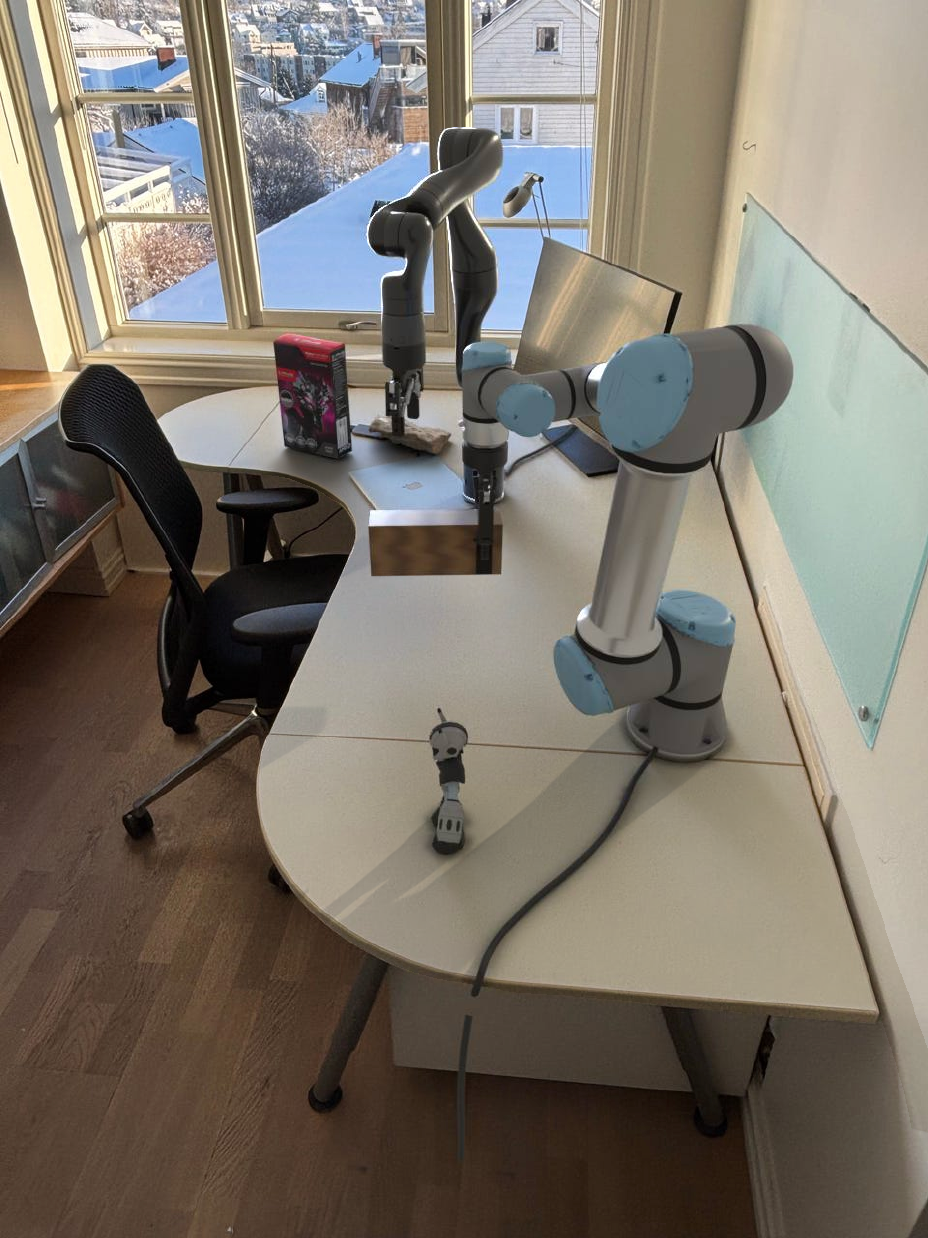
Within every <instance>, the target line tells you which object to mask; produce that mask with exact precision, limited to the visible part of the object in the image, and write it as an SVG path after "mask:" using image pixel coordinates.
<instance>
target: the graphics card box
mask: <svg viewBox="0 0 928 1238" xmlns="http://www.w3.org/2000/svg"><path fill="white" fill-rule="evenodd" d="M272 344H273V345H272V346H273V349H274V350H273V353H274V361H275V362H274V363H275V371H276V380H277V381H276V382H277V390H278V398H279V399H278V400H279V408H280V417H281V418H280V419H281V428H282V435H283V436H282V437H283V446H284V447H285V448H289V449H294V450H298V451H302V452H306V453H311V454H315V455H319V456H323V457H328V458H333V459H336V460H338V459H339V460H340V458H342V457H344V456H346V455H347V454H349V453H350V452H352V451H353V446H352V429H351V415H350V402H349V401H350V400H349V385H348V370H347V356H346V343H345V342H339V341H338V342H337V341H333V340H327V339H321V338H317V337H311V336H305V335H300V334H295V333H289V332H288V333H285V334H282V335H280V336H279V337H277V338H276V339H274V340H273V342H272Z"/></svg>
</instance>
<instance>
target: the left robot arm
mask: <svg viewBox="0 0 928 1238" xmlns="http://www.w3.org/2000/svg"><path fill="white" fill-rule="evenodd" d="M437 145H438V146H437V162H438V171H437V172H435V173H432V174H430V175H429V176H427V177H425V178H423V179H422V180H421V181H420V182H419V183H417V185H416V186H414V187H413V189H411V190H410V191H409V193H408V194H407V195H406V196H403V197H402V198H398V199H396V200H394V201H391V202H390V203H387V204H386V205H384V206H382V207H381V208H379V209H378V210H377V211H376V212H375V213H374V214H373V216H372V217H371V218H370V221H369V222H368V223H369V224H368V225H367V231H366V236H367V244H368V245H369V248H370V249H371V250H372V252H374V253H375V254H376V255H377V256H379V257H384V258H390V259H391V258H392V259H401V260H405V267H404V269H403V270H397V271H392V272H388V273H386V274H385V275H383V276H382V278H381V281H380V292H381V293H380V294H381V320H380V333H381V334H380V335H381V355H382V356H381V360H382V364H383V366H384V367H385V368H387V369H390V370H391V372H392V374H391V377H390V381H385V383H384V399H385V401H384V402H385V403H384V404H385V415H386V416H391V420H392V435H393V436H398V437H403V436H404V435H405V419H406V418H405V414H406V417H407V418H408V419H410V420H418V419H419V418H420V413H421V411H420V399H421V397H422V393H421V392H424V390H425V383H424V382H425V381H424V366H425V365H426V361H427V357H426V356H427V353H426V351H427V349H426V346H427V345H426V343H427V342H426V319H425V312H424V309H425V308H424V285H425V284H424V283H425V279H426V271H427V268H428V263H429V260H430V256H431V252H432V248H433V244H434V232H435V231H436V230H437V229H438V228H439V227H440V226H441V224H442V223H443V222H444V221H445V220H446V223H447V232H448V234H447V235H448V244H449V264H450V276H451V286H452V294H453V295H452V296H453V304H454V305H453V306H454V322H455V323H454V324H455V349H454V350H455V352H454V353H455V354H454V355H455V357H454V364H455V365H454V367H455V368H454V369H455V371H454V372H455V378H456V381H457V385H458V386H459V388H461V389H462V372H461V369H462V367H463V352H464V350H465V348H466V347H467V346H468V345H470V344H473V343H477V342H482V325H483V321H484V319H485V317H486V315H487V313H488V312H489V310H490V309H491V307H492V305H493V302H494V300H495V298H496V296H497V293H498V290H499V270H498V269H499V267H498V255H497V251H496V248H495V246H494V244H493V242H492V241H491V238H489V237H490V236H489V235H488V234H487V233H486V230H485V229H484V228H483V226H482V225H481V223H480V221H478V218H477V217H476V215H475V213H474V211H473V208H472V206H471V203H470V200H469V199H470V198H471V197H473V196H474V195H476V194H478V193H479V192H481V191H482V190H483V189H486V188H487V187H488V186H490V185H492V184H493V183H494V182H495V181H496V180H497V178H498V177H499V175H500V173H501V171H502V167H503V162H504V147H503V142H502V138H501V137H500V135H499V134H498V133H497V132H496V131H495V130H493V129H490V128H483V127H480V128H479V127H448V128H446V129H444V130H443V131H442V133H441V134H440V136H439V141H438V144H437ZM511 369H513V368H512V366H511ZM395 407H396V408H395ZM574 427H575V426H574V425H573V423H572V424H571V425H570V426H569V427H568V428H567V429H566V430H565V431H563V433H562V434H561V435H559V436H558V437H556V438H555V439H553V440H552V441H550V442H548V443H546V444H545V445H543V446H541V447H540V448H538V449H536V450H534V451H531V452H529V453H527V454H524V455H522V456H521V457H518V458H517V459H516V460H515V461H514V462H513V463H512V464H511V465H510V466H509V468H508V469H506V468H505V466H503V467H501V468H499V469H496V476H497V486H496V488H495V502H494V504H497V503H500V502H501V501H502V500H504V498H505V497H504V496H505V491H504V485H505V484H504V483H505V481H506V476H508V475H509V474H510V473H511V472H512V471H513V469H514V468H515V466H516V465H518V464H519V463H520V462H522V461H524V460H526V459H528V458H530V457H533V456H535V455H537V454H538V453H540V452H542V451H544V450H545V449H546V450H547V449H548V448H549V447H551V446H552V445H554V444H556V443H557V442H559V441H560V440H561V439H563V438H564V437H565V436H566V435H568V433H570V432H571V431H572V430H573V428H574ZM462 465H463V466H462V467H463V468H462V475H461V479H460V480H461V481H462V493H463V492H464V494H465V495H466V496H468V497H470V498H473V499H475V492H474V488H473V479H472V470H475V469H471V468H469V467H467V466H466V465H465V464H464V463H463V462H462ZM462 498H463V500H464V501H466V502H468V503H470V504H472V505H473V504H474V505H475V501H473V500H470V499H468V498H466V497H465V496H464V495H463V494H462Z"/></svg>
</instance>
